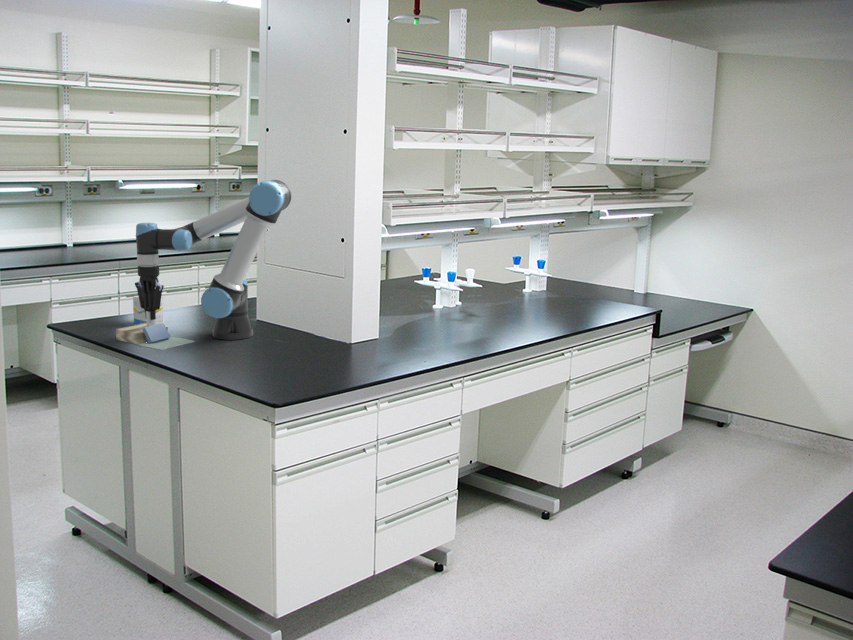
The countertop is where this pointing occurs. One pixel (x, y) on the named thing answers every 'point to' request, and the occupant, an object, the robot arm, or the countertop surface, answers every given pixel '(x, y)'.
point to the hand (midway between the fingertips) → (151, 327)
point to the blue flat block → (156, 333)
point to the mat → (167, 343)
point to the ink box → (140, 312)
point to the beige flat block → (132, 334)
